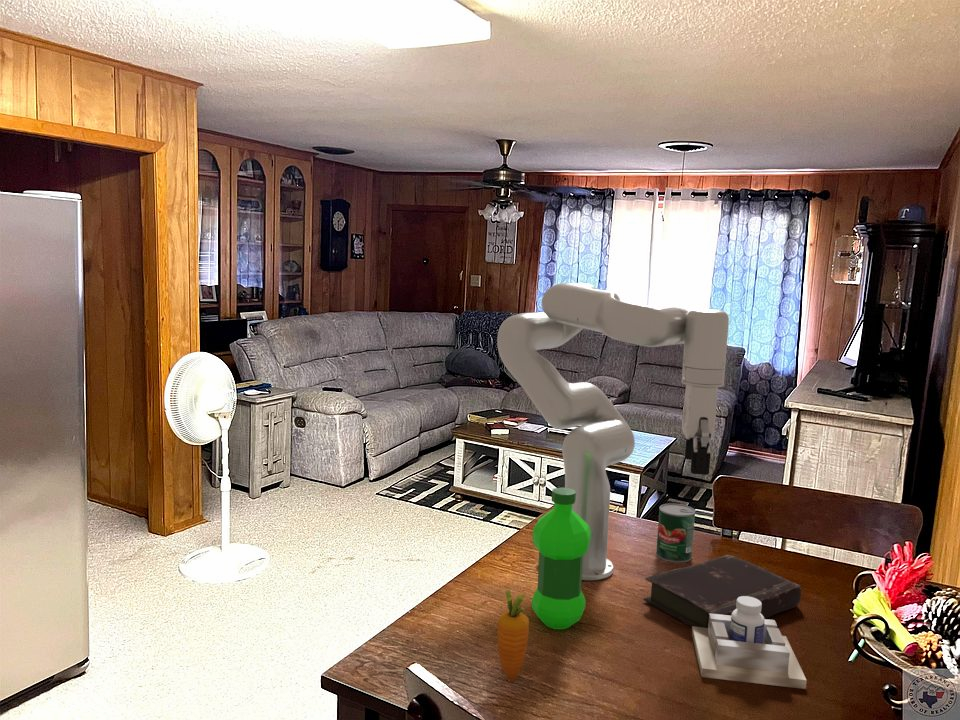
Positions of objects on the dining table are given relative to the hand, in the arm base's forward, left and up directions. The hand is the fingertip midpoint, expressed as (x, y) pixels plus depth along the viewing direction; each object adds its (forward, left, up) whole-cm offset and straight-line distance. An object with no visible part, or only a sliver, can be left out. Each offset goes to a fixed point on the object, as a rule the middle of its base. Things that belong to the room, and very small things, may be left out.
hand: (696, 466), depth 141 cm
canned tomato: (0, +26, -28) cm, 39 cm away
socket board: (+8, -17, -28) cm, 34 cm away
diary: (+7, +3, -28) cm, 29 cm away
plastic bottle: (-24, -11, -28) cm, 39 cm away
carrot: (-30, -32, -28) cm, 52 cm away
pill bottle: (+8, -17, -27) cm, 33 cm away
